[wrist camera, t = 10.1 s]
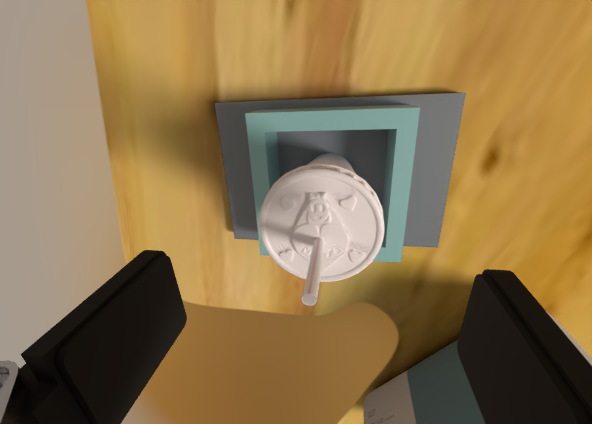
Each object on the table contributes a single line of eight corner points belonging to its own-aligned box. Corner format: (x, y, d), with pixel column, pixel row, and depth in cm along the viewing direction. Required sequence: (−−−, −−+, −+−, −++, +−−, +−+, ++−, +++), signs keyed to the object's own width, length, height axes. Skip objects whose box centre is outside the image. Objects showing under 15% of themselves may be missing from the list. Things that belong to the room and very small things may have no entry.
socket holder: (220, 102, 23) (192, 105, 19) (459, 92, 20) (489, 93, 16) (239, 232, 28) (219, 259, 23) (433, 240, 25) (451, 272, 20)
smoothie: (294, 212, 25) (238, 345, 12) (287, 137, 22) (206, 206, 9) (370, 211, 23) (397, 358, 11) (371, 132, 21) (409, 202, 8)
